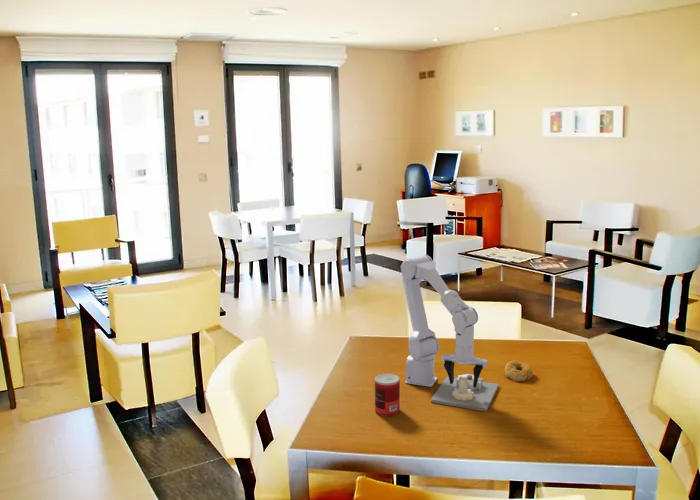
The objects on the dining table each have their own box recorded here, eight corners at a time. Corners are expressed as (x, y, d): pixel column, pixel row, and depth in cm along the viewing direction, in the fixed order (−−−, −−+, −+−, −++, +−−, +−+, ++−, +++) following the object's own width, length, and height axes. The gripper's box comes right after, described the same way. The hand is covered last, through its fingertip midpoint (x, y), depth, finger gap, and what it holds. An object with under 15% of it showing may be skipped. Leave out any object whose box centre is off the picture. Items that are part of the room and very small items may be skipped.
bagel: (502, 380, 225) (503, 367, 224) (505, 369, 235) (506, 357, 234) (531, 384, 222) (532, 371, 221) (534, 373, 232) (534, 360, 231)
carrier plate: (430, 402, 209) (431, 389, 208) (446, 379, 227) (447, 367, 226) (486, 411, 202) (487, 398, 201) (498, 386, 220) (498, 374, 219)
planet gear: (450, 397, 209) (450, 379, 208) (456, 390, 215) (456, 372, 214) (469, 401, 206) (470, 383, 205) (475, 393, 212) (475, 375, 211)
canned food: (402, 407, 206) (402, 374, 203) (395, 418, 198) (395, 384, 196) (379, 404, 208) (379, 372, 206) (371, 414, 201) (371, 381, 198)
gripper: (439, 346, 206) (438, 385, 209) (484, 352, 201) (483, 392, 204) (444, 339, 213) (444, 377, 216) (488, 344, 207) (487, 384, 210)
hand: (463, 384), depth 210 cm, fingers open, 7 cm apart
